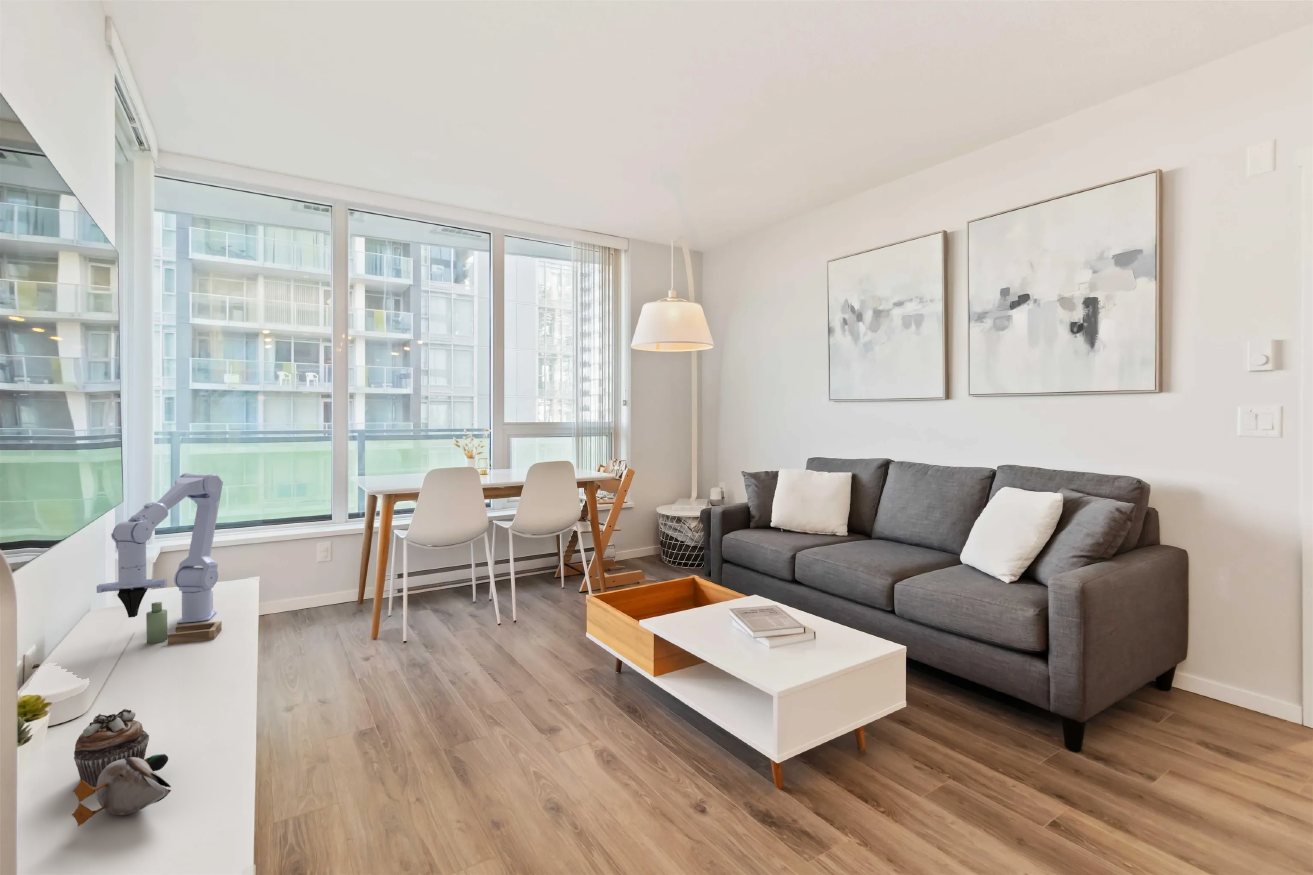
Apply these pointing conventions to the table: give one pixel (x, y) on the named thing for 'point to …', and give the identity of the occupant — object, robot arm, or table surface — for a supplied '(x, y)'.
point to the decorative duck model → (124, 787)
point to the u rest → (195, 632)
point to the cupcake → (108, 744)
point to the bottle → (156, 624)
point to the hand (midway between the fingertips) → (133, 616)
